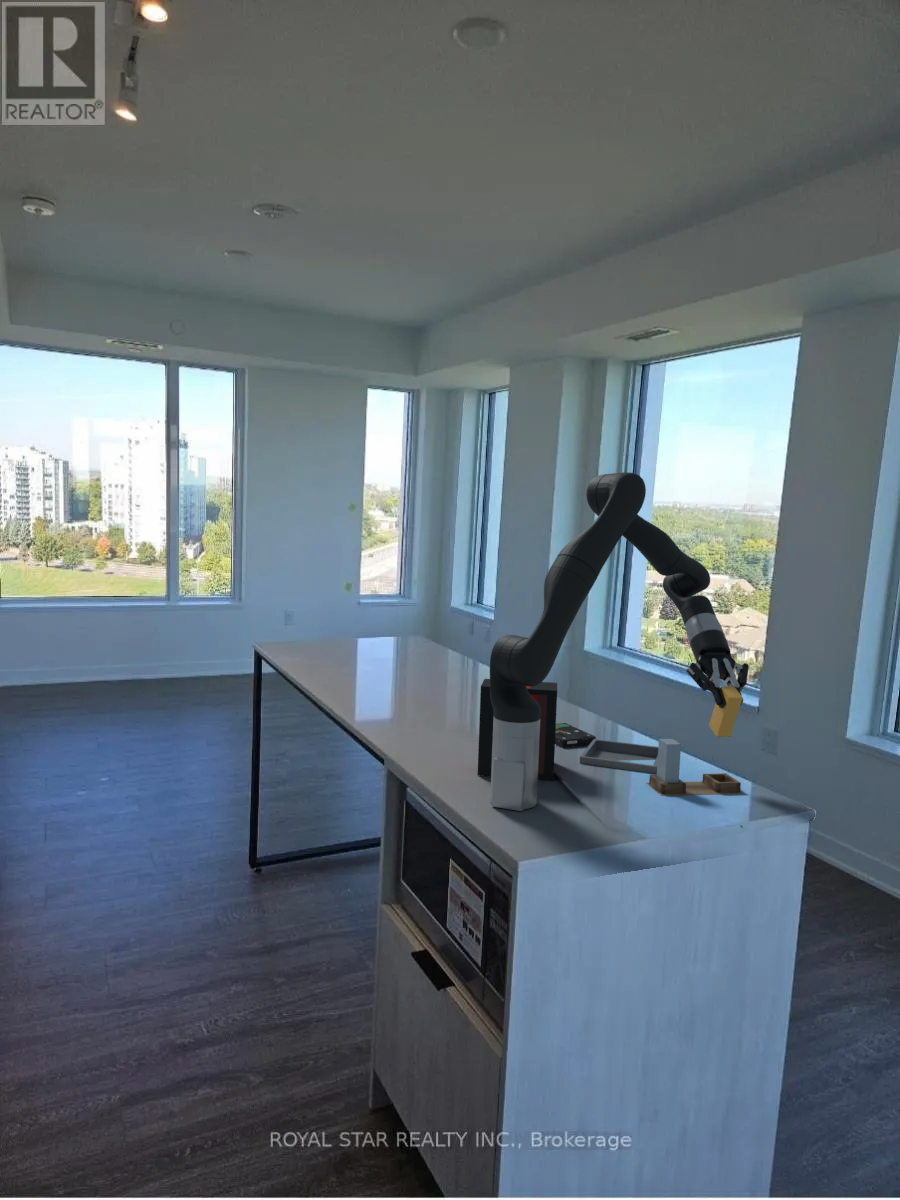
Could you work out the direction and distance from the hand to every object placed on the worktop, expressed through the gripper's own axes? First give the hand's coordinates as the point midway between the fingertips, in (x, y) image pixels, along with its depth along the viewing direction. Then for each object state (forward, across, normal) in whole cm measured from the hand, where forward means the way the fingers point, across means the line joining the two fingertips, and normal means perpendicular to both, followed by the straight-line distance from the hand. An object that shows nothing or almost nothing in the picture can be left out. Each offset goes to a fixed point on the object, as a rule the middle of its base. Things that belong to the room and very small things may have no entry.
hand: (731, 705), depth 160 cm
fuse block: (+12, -6, +15) cm, 20 cm away
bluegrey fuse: (+11, -12, +14) cm, 22 cm away
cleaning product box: (0, -40, +28) cm, 48 cm away
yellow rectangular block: (+2, 0, +7) cm, 8 cm away
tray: (-3, -13, +30) cm, 33 cm away
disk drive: (-18, -20, +47) cm, 54 cm away
